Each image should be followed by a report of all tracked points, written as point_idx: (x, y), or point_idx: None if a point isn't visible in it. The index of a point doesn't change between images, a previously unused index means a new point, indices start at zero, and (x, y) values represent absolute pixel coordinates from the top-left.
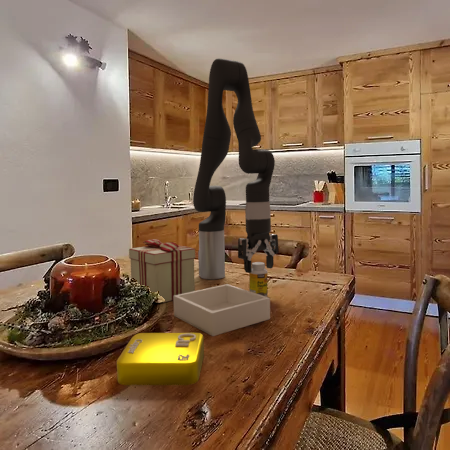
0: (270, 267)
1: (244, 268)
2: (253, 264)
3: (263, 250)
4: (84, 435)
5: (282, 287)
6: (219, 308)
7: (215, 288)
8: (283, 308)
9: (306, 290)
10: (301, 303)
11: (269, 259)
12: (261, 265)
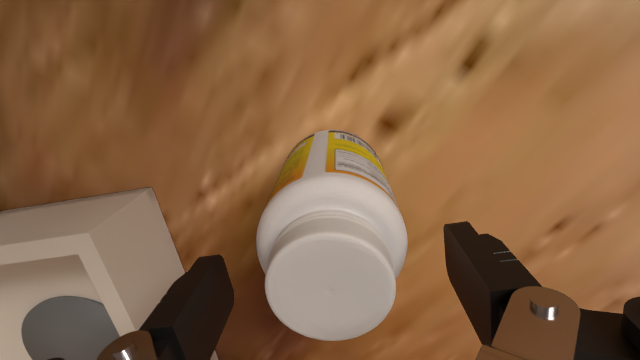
0: (449, 273)
1: (173, 289)
2: (267, 296)
3: (485, 350)
4: None
5: (559, 99)
6: (82, 265)
7: (6, 262)
8: (330, 348)
9: (611, 216)
10: (429, 339)
11: (477, 314)
12: (325, 336)
